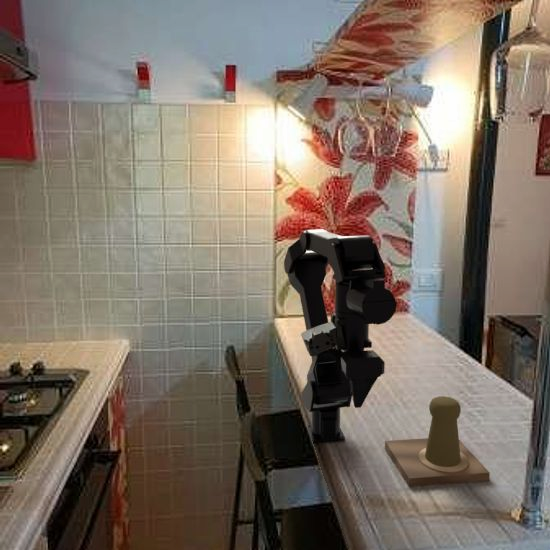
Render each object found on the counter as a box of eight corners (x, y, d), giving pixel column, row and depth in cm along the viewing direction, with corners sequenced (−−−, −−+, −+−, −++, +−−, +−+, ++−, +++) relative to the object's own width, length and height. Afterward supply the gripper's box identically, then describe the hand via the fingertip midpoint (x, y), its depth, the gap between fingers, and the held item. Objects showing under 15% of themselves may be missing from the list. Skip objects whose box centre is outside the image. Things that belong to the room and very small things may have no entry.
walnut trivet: (384, 448, 102) (385, 439, 102) (455, 443, 104) (456, 434, 103) (408, 486, 90) (409, 476, 89) (489, 480, 91) (489, 470, 91)
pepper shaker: (453, 449, 98) (456, 391, 96) (466, 466, 92) (469, 406, 90) (420, 449, 98) (422, 392, 96) (430, 467, 92) (433, 406, 90)
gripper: (296, 299, 100) (297, 379, 103) (315, 326, 82) (315, 422, 84) (355, 297, 101) (354, 376, 104) (386, 323, 83) (384, 418, 85)
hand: (350, 396), depth 94 cm, fingers open, 9 cm apart
